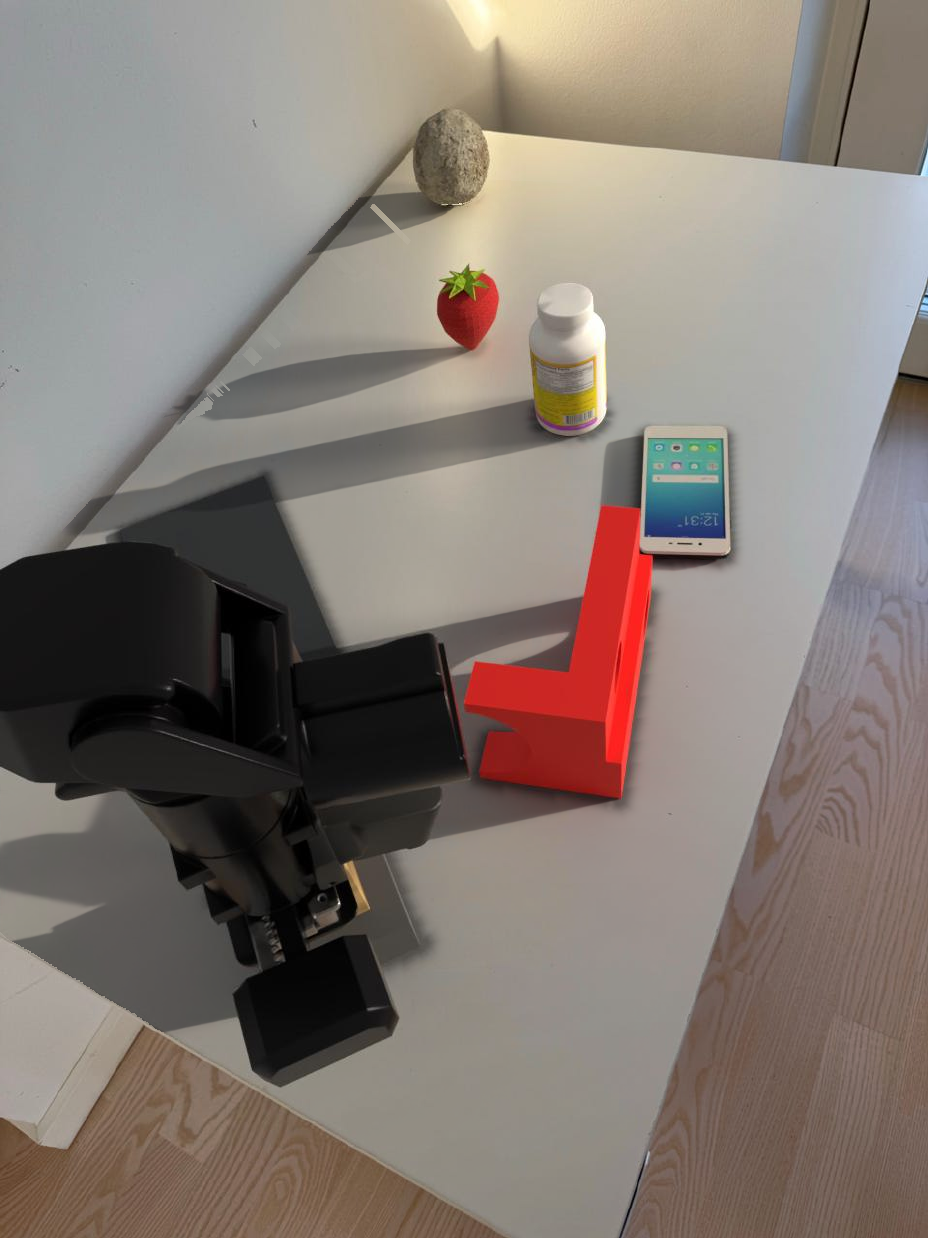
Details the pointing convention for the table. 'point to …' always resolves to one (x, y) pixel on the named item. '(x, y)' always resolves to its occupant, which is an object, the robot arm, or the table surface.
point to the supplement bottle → (568, 361)
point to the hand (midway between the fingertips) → (313, 924)
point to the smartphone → (685, 493)
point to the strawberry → (467, 306)
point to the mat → (244, 556)
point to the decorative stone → (450, 157)
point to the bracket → (576, 680)
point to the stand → (379, 913)
